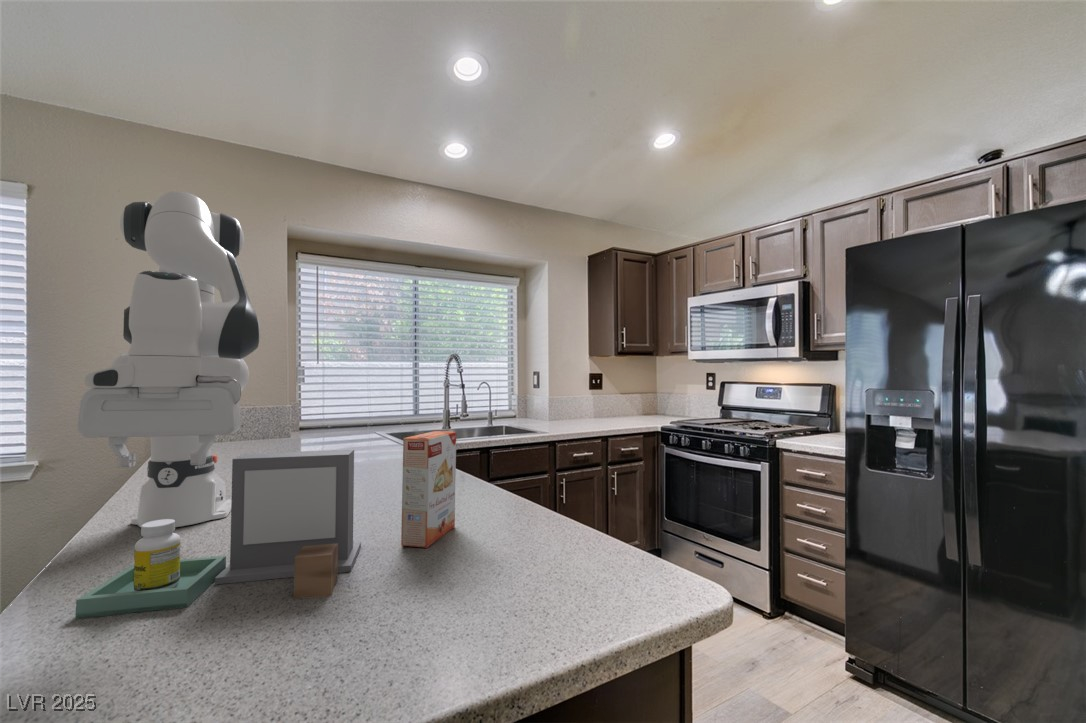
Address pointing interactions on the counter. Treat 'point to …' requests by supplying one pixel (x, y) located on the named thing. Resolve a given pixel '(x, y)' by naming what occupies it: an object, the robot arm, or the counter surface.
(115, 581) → the tray
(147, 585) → the supplement bottle
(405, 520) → the cracker box
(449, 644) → the counter surface
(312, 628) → the counter surface
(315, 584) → the walnut block
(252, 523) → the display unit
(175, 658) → the counter surface
